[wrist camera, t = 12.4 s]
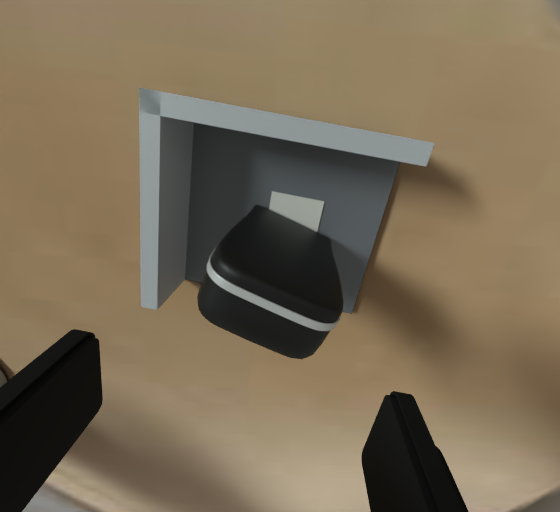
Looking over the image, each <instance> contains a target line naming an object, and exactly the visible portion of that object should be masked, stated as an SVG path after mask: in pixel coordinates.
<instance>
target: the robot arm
mask: <svg viewBox="0 0 560 512" xmlns="http://www.w3.org/2000/svg"><path fill="white" fill-rule="evenodd" d="M101 405H102V383H101V366H100V349H99V340H98V339H96V338H95V335H94V334H93V333H91V332H86V331H81V330H75V329H74V330H71V331H70V332H68V333H67V334H66V335H64V336H63V337H62V338H61V339H60V340H58V341H57V342H56V343H55V344H53V345H52V346H51V347H50V348H48V349H47V350H46V351H45V352H43V353H42V354H41V355H40V356H38V357H37V358H36V359H35V360H33V361H32V362H31V363H30V364H28V365H27V366H26V367H25V368H23V369H22V370H21V371H20V372H18V373H17V374H16V375H15V376H14V377H12V378H11V379H10V380H9V381H7V379H6V377H5V375H4V373H3V372H2V370H1V369H0V512H22V511H23V509H24V508H25V507H26V505H27V504H28V503H29V502H30V500H31V499H32V498H33V496H34V495H35V494H36V492H37V491H38V490H39V488H40V487H41V486H42V485H43V483H44V482H45V481H46V479H47V478H48V477H49V475H50V474H51V473H52V471H53V470H54V469H55V468H56V466H57V465H58V464H59V462H60V461H61V460H62V458H63V457H64V456H65V454H66V453H67V452H68V451H69V449H70V448H71V447H72V445H73V444H74V443H75V441H76V440H77V439H78V437H79V436H80V435H81V433H82V432H83V431H84V430H85V428H86V427H87V426H88V424H89V423H90V422H91V420H92V419H93V418H94V416H95V415H96V414H97V412H98V411H99V409H100V407H101ZM362 467H363V472H364V477H365V483H366V488H367V494H368V499H369V504H370V510H371V512H468V510H467V507H466V505H465V503H464V501H463V499H462V496H461V494H460V492H459V490H458V487H457V485H456V483H455V481H454V479H453V476H452V474H451V472H450V470H449V467H448V465H447V463H446V461H445V459H444V456H443V454H442V453H441V451H440V450H439V449H438V448H437V447H436V446H435V444H434V442H433V440H432V437H431V435H430V433H429V430H428V428H427V426H426V424H425V421H424V419H423V417H422V414H421V412H420V410H419V408H418V405H417V403H416V401H415V399H414V397H413V396H412V395H411V394H406V393H400V392H395V391H393V392H391V394H390V395H386V396H385V397H384V400H383V402H382V404H381V407H380V409H379V412H378V414H377V417H376V419H375V422H374V424H373V426H372V429H371V431H370V434H369V436H368V439H367V441H366V443H365V446H364V448H363V451H362Z"/></svg>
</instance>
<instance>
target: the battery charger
mask: <svg viewBox="0 0 560 512" xmlns="http://www.w3.org/2000/svg"><path fill="white" fill-rule="evenodd" d="M197 298H198V307H199V310H200V312H201V314H202V315H203V316H204V317H205V318H206V319H207V320H208V321H209V322H211V323H212V324H214V325H216V326H218V327H220V328H222V329H224V330H227V331H229V332H231V333H233V334H235V335H238V336H240V337H242V338H244V339H246V340H249V341H251V342H253V343H255V344H258V345H260V346H263V347H265V348H267V349H270V350H272V351H274V352H277V353H279V354H282V355H284V356H287V357H290V358H296V359H303V358H306V357H309V356H311V355H313V354H314V352H315V351H316V350H317V349H318V348H319V346H320V345H321V344H322V343H323V341H324V339H325V338H326V336H327V335H328V333H329V332H330V330H332V329H333V328H335V326H336V325H337V323H338V322H339V320H340V317H341V313H342V311H343V294H342V287H341V282H340V277H339V273H338V269H337V266H336V262H335V259H334V256H333V252H332V246H331V240H330V239H329V238H328V237H326V236H323V235H321V234H319V233H317V232H315V231H313V230H311V229H309V228H307V227H305V226H303V225H301V224H298V223H296V222H294V221H292V220H290V219H288V218H286V217H284V216H282V215H279V214H277V213H275V212H273V211H271V210H269V209H267V208H264V207H262V206H260V205H255V206H254V207H253V208H252V210H251V211H250V212H249V213H248V214H247V215H246V216H245V217H244V218H243V219H242V220H240V221H239V222H238V223H237V224H236V225H235V226H234V227H232V229H231V230H230V231H229V232H228V233H227V234H226V235H225V236H224V238H223V239H222V240H221V241H220V243H219V244H218V245H217V247H216V248H215V249H214V251H213V252H212V253H211V256H210V258H209V260H208V263H207V271H206V274H205V276H204V279H203V281H202V284H201V287H200V289H199V293H198V297H197Z"/></svg>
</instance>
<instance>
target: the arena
mask: <svg viewBox="0 0 560 512" xmlns="http://www.w3.org/2000/svg"><path fill="white" fill-rule="evenodd" d="M139 123H140V244H141V307H146V308H150V309H155V310H158V308H159V307H160V306H161V305H162V304H163V303H164V302H165V301H166V300H167V299H168V297H169V296H170V295H171V294H172V293H173V292H174V291H175V290H176V289H177V287H178V286H179V285H180V284H181V283H182V282H183V281H184V280H185V279H186V280H191V281H196V282H201V283H202V281H203V279H204V276H205V274H206V271H207V263H208V260H209V258H210V256H211V253H212V252H213V251H214V249H215V248H216V247H217V245H218V244H219V243H220V241H221V240H222V239H223V238H224V236H225V235H226V234H227V233H228V232H229V231H230V230H231V229H232V227H234V226H235V225H236V224H237V223H238V222H239V221H240V220H242V219H243V218H244V217H245V216H246V215H247V214H248V213H249V212H250V211H251V210H252V208H253V207H254V206H255V205H260V206H262V207H264V208H267V209H269V210H271V211H273V212H275V213H277V214H279V215H282V216H284V217H286V218H288V219H290V220H292V221H294V222H296V223H298V224H301V225H303V226H305V227H307V228H309V229H311V230H313V231H315V232H317V233H319V234H321V235H323V236H326V237H328V238H329V239H330V240H331V246H332V252H333V256H334V259H335V262H336V266H337V269H338V273H339V277H340V282H341V287H342V294H343V311H342V312H346V313H351V314H352V311H353V308H354V305H355V302H356V298H357V295H358V292H359V289H360V286H361V283H362V280H363V277H364V273H365V270H366V267H367V264H368V261H369V258H370V255H371V251H372V248H373V245H374V242H375V239H376V236H377V233H378V229H379V226H380V223H381V220H382V217H383V214H384V211H385V207H386V204H387V201H388V198H389V195H390V192H391V189H392V185H393V182H394V179H395V176H396V173H397V170H398V167H399V163H400V162H405V163H410V164H415V165H420V166H427V163H428V160H429V157H430V154H431V152H432V149H433V146H434V143H431V142H426V141H420V140H415V139H410V138H405V137H399V136H394V135H389V134H383V133H378V132H373V131H367V130H362V129H357V128H351V127H346V126H341V125H336V124H330V123H325V122H320V121H314V120H309V119H304V118H298V117H293V116H288V115H282V114H277V113H272V112H267V111H261V110H256V109H251V108H245V107H240V106H235V105H229V104H224V103H219V102H213V101H208V100H203V99H197V98H192V97H187V96H182V95H176V94H171V93H166V92H160V91H155V90H150V89H144V88H139Z"/></svg>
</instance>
